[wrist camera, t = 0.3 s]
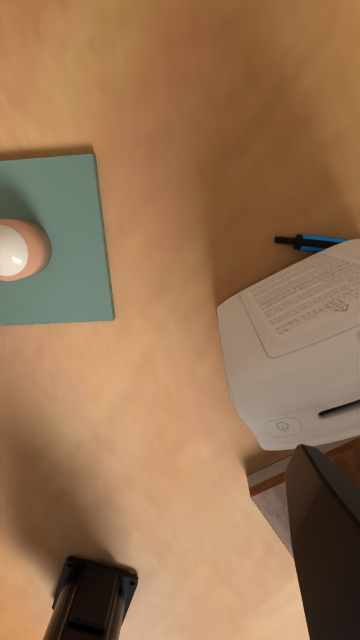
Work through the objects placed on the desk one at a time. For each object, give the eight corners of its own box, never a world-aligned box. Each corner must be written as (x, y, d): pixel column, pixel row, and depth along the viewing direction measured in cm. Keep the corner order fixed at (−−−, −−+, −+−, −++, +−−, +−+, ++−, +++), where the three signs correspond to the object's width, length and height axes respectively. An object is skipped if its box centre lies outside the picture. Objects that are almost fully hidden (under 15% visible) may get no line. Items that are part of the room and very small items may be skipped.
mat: (115, 317, 23) (113, 320, 22) (-27, 324, 23) (-32, 327, 23) (95, 155, 20) (92, 153, 19) (-65, 168, 20) (-73, 166, 20)
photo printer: (233, 358, 23) (271, 506, 11) (204, 305, 22) (211, 404, 10) (381, 289, 21) (615, 378, 9) (356, 227, 20) (583, 237, 8)
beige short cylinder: (46, 281, 21) (27, 288, 19) (-6, 265, 21) (-31, 270, 19) (56, 229, 20) (37, 230, 18) (2, 211, 20) (-24, 210, 18)
